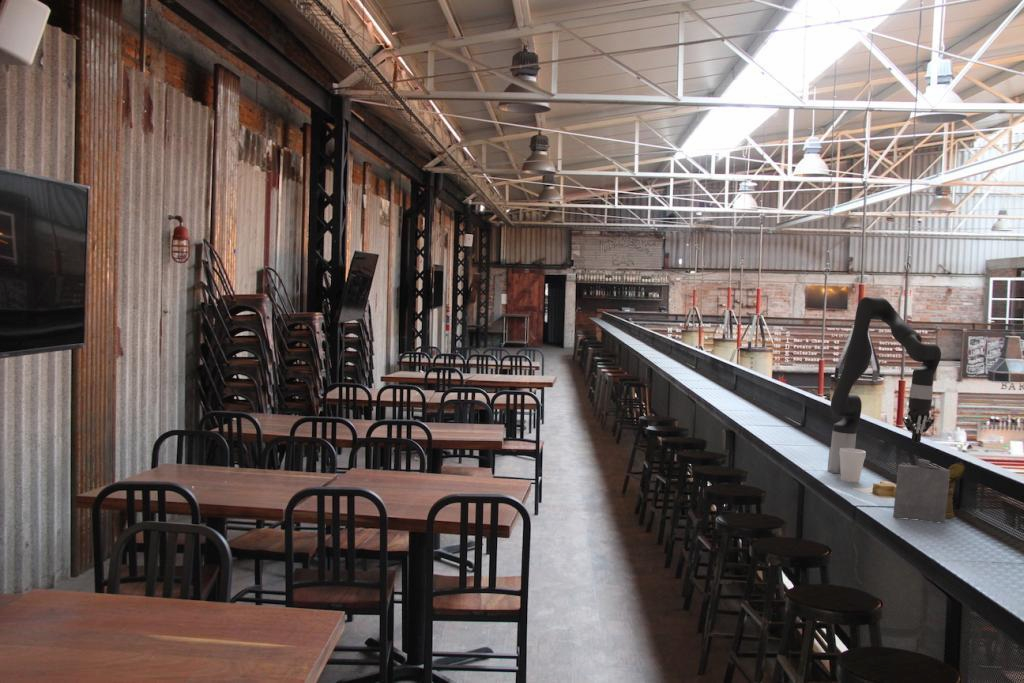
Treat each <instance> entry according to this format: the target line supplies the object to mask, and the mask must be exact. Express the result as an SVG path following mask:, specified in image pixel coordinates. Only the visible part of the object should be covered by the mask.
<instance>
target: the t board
mask: <svg viewBox="0 0 1024 683" xmlns="http://www.w3.org/2000/svg"><path fill="white" fill-rule="evenodd" d="M851 489H853V490H855V491H858V492H861V493H863V494H866V495H869V496H870V497H874V498H877V499H880V500H883V501H885V502H895V496H880V495H877V494H875V493H872V491H873V487H851Z"/></svg>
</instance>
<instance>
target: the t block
mask: <svg viewBox="0 0 1024 683" xmlns="http://www.w3.org/2000/svg"><path fill="white" fill-rule="evenodd" d="M872 488H873V491H872V493H875V494H877V495H880V496H895V493H896V483H893V482H890V481H887V480H886V481H879V482H877V483H876V482H873V484H872Z"/></svg>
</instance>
